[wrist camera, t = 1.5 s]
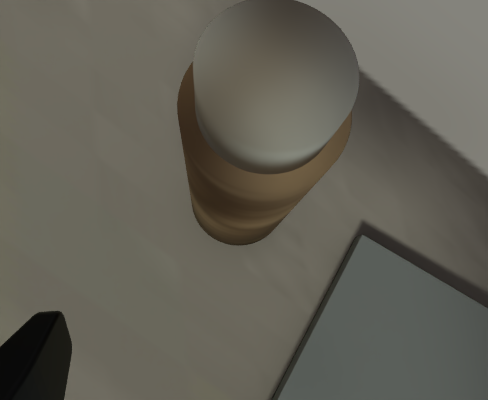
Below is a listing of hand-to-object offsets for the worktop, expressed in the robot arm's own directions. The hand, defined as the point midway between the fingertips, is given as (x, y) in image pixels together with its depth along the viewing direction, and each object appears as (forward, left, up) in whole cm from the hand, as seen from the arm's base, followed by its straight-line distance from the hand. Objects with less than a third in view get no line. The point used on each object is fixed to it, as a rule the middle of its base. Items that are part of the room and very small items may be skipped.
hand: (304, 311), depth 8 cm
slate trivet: (-9, -1, -14) cm, 16 cm away
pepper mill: (+3, -5, -14) cm, 15 cm away
